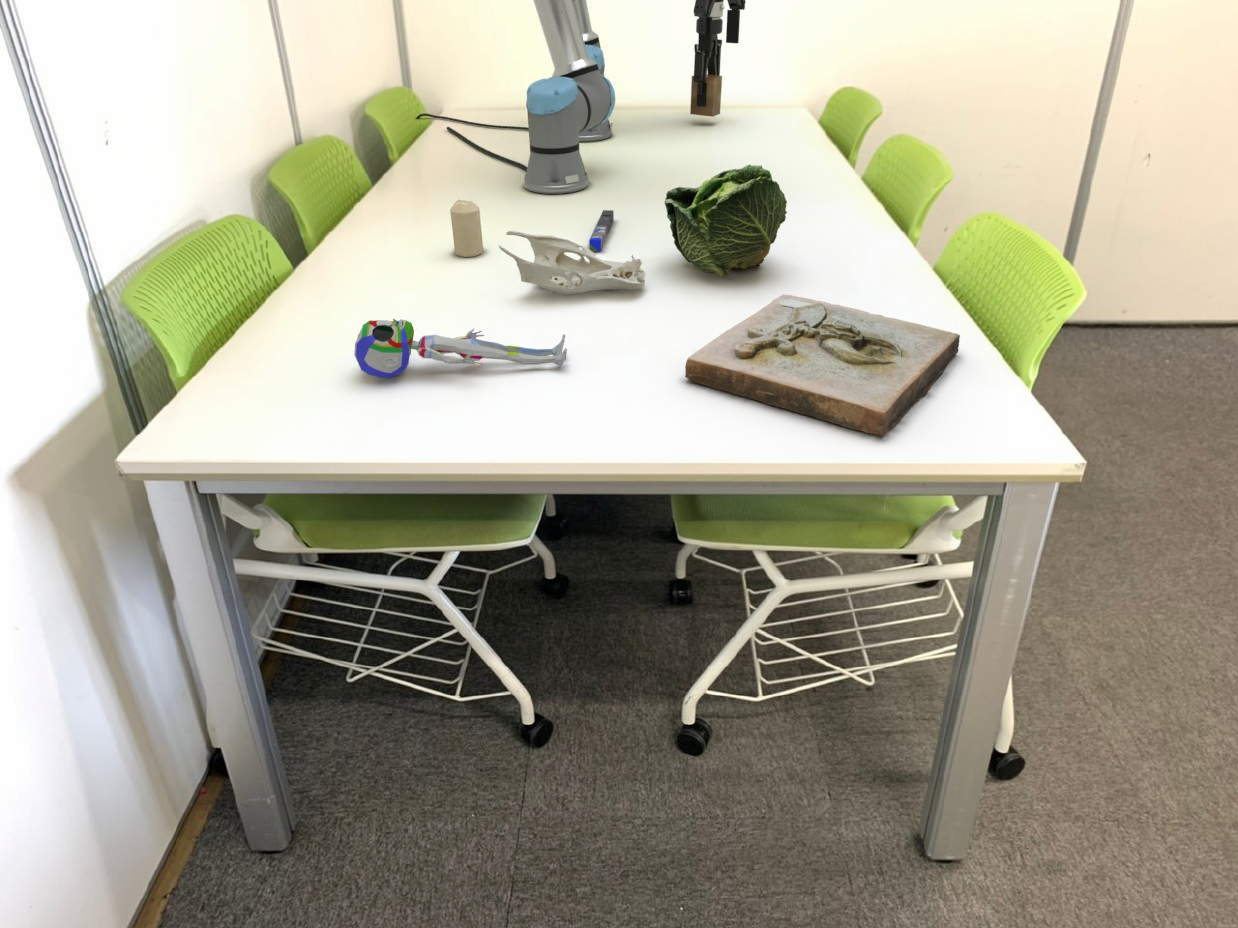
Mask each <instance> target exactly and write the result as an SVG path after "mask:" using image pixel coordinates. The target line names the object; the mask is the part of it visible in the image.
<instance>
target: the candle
mask: <svg viewBox="0 0 1238 928" xmlns="http://www.w3.org/2000/svg"><path fill="white" fill-rule="evenodd" d="M449 212H450V213H449V214H450V222H451V228H452V231H451V232H452V239H453V247H454V253H455V255H457V256H459V257H465V258H466V257H467V258H468V257H475V256H479V255H481V254H483V252H484V242H483V234H482V233H483V232H482V231H483V230H482V222H481V221H482V220H481V212H480V207H479V205H478V204H476V203H475V202H474V201H472V200H470V201H468V200H465V199H464V200H462V199H457V200H456V201H455V202H454V203H453V205H452V206H451V207H450V209H449Z"/></svg>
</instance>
